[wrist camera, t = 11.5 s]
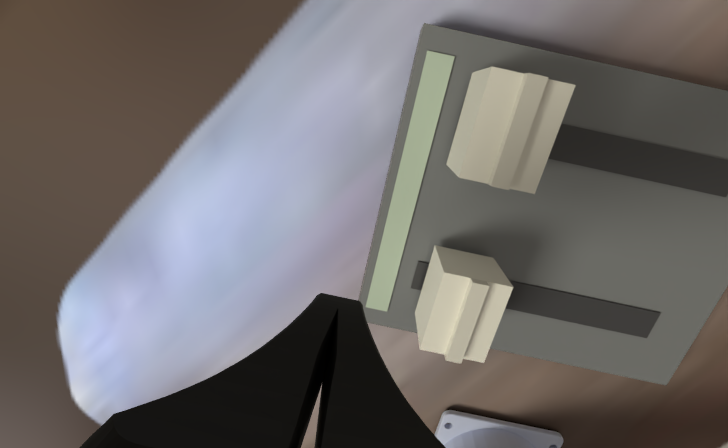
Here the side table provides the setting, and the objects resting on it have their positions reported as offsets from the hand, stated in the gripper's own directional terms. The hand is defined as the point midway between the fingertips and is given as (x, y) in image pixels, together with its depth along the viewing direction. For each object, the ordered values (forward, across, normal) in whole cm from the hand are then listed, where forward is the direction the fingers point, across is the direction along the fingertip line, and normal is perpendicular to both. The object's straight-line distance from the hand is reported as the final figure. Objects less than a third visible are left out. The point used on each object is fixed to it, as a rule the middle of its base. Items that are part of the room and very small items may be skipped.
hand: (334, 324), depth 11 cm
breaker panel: (+9, -10, -2) cm, 14 cm away
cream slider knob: (+7, -5, +1) cm, 9 cm away
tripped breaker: (+7, -5, -6) cm, 11 cm away
